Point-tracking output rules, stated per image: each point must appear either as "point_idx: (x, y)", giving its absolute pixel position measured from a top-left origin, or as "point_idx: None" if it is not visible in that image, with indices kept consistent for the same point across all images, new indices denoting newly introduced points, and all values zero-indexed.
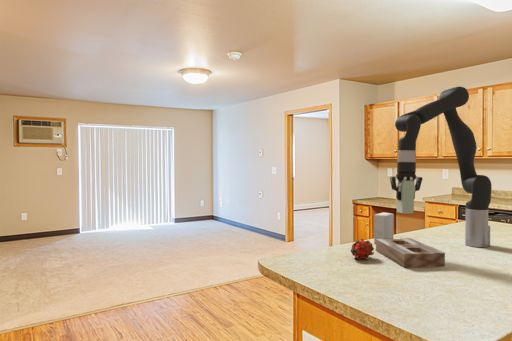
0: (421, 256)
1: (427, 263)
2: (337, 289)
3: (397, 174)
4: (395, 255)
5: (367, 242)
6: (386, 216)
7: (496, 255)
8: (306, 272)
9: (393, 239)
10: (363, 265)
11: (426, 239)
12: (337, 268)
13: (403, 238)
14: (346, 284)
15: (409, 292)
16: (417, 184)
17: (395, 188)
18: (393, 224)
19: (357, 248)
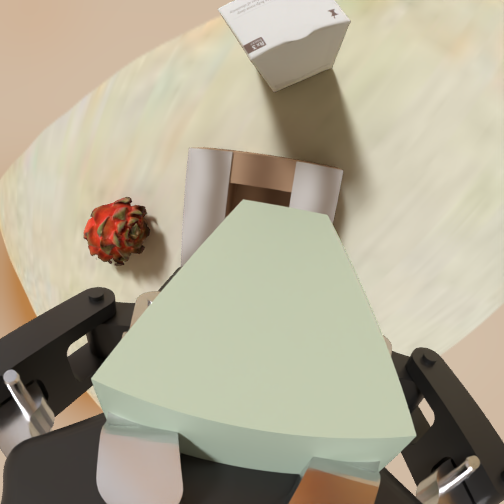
0: None
1: None
2: (70, 352)
3: (19, 497)
4: None
5: (114, 244)
6: (271, 52)
7: (489, 298)
8: (36, 279)
9: (262, 160)
10: (116, 278)
11: (478, 70)
12: (71, 278)
13: (309, 166)
14: (79, 345)
15: None
16: (413, 445)
17: (101, 358)
18: (339, 44)
19: (93, 254)
